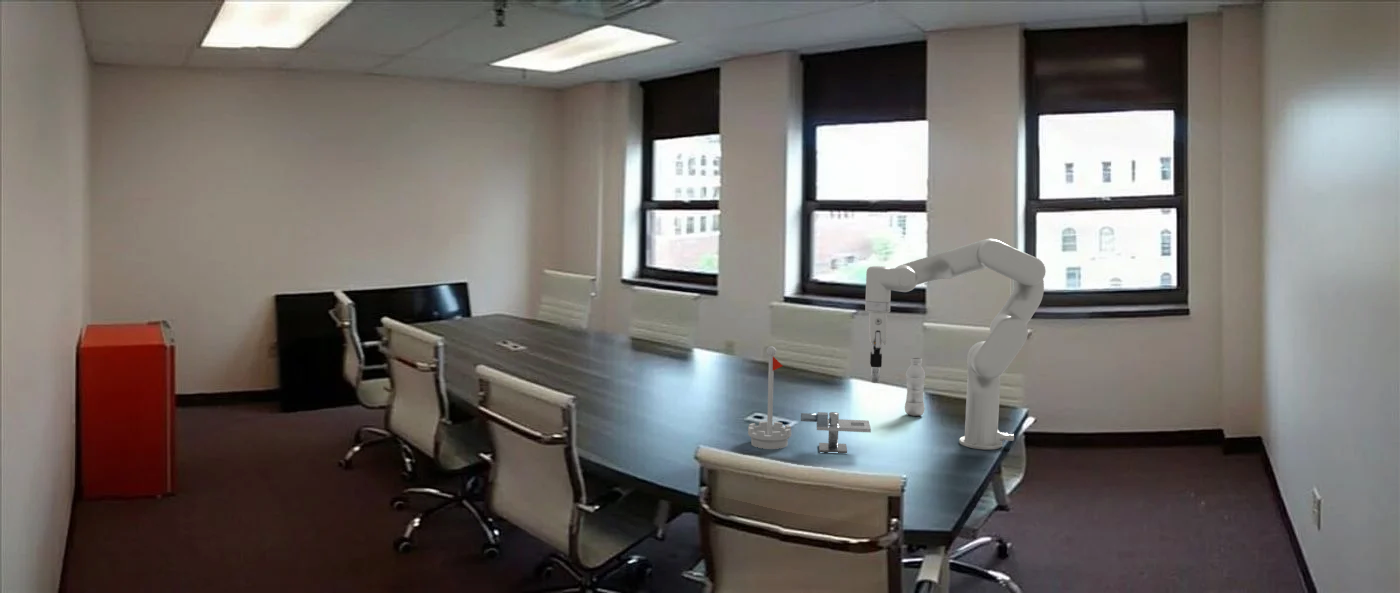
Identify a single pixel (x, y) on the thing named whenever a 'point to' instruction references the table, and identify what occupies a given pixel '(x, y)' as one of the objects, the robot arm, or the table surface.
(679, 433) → the table surface
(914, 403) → the plastic bottle
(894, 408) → the table surface
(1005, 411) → the table surface
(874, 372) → the pin
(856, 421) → the plate with square hole
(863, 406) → the table surface
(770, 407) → the flag stand
